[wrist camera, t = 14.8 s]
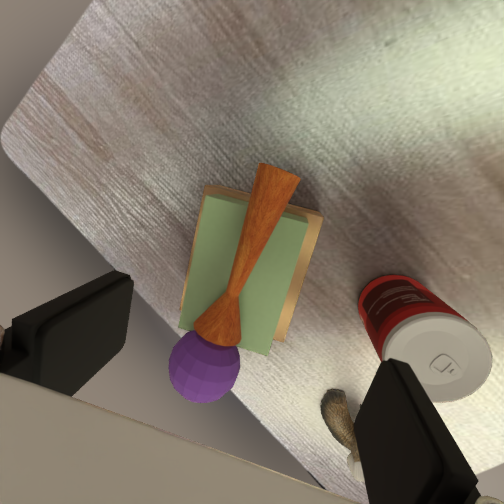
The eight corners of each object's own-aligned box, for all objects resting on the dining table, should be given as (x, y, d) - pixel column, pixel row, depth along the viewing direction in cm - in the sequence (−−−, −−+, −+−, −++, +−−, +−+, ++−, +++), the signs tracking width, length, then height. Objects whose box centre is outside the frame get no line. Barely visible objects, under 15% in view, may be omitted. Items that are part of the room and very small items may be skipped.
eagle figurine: (411, 429, 35) (369, 386, 32) (406, 499, 30) (357, 455, 28) (356, 422, 40) (317, 385, 38) (345, 480, 36) (300, 442, 33)
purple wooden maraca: (328, 185, 19) (224, 428, 22) (306, 186, 24) (227, 379, 28) (243, 150, 18) (150, 408, 22) (241, 159, 24) (169, 361, 27)
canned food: (411, 344, 33) (464, 417, 23) (346, 321, 34) (367, 382, 23) (441, 286, 31) (515, 337, 21) (371, 263, 32) (408, 301, 21)
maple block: (218, 184, 33) (204, 184, 28) (320, 212, 32) (324, 217, 27) (194, 293, 36) (179, 310, 32) (285, 321, 35) (283, 342, 30)
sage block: (217, 193, 28) (205, 195, 24) (307, 218, 27) (308, 223, 23) (192, 310, 31) (177, 327, 27) (271, 334, 30) (267, 356, 27)
